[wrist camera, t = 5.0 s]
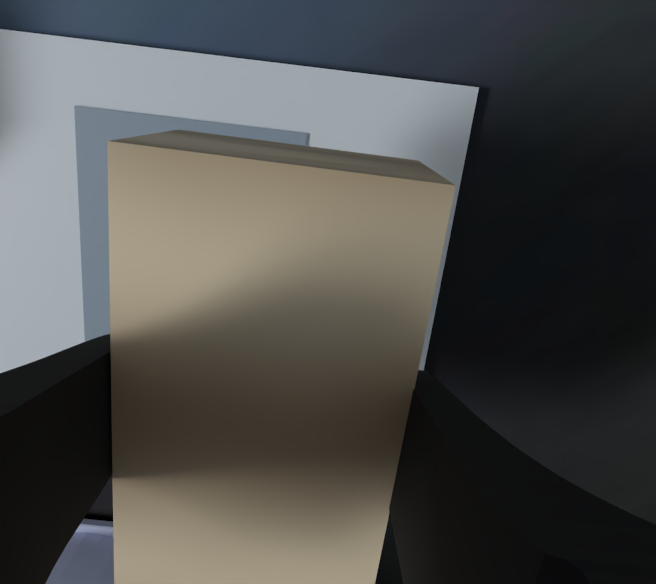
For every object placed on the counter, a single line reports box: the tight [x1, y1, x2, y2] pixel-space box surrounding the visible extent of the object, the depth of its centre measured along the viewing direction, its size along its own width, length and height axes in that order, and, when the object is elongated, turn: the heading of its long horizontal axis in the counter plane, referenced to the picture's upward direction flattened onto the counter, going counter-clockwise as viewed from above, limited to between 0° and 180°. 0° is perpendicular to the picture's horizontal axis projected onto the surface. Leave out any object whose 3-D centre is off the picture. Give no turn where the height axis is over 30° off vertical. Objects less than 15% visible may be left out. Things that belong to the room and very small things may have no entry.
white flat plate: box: [0, 29, 479, 373], centre depth 19 cm, size 16×18×1 cm
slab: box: [107, 130, 456, 584], centre depth 12 cm, size 10×6×4 cm, turn 173°
